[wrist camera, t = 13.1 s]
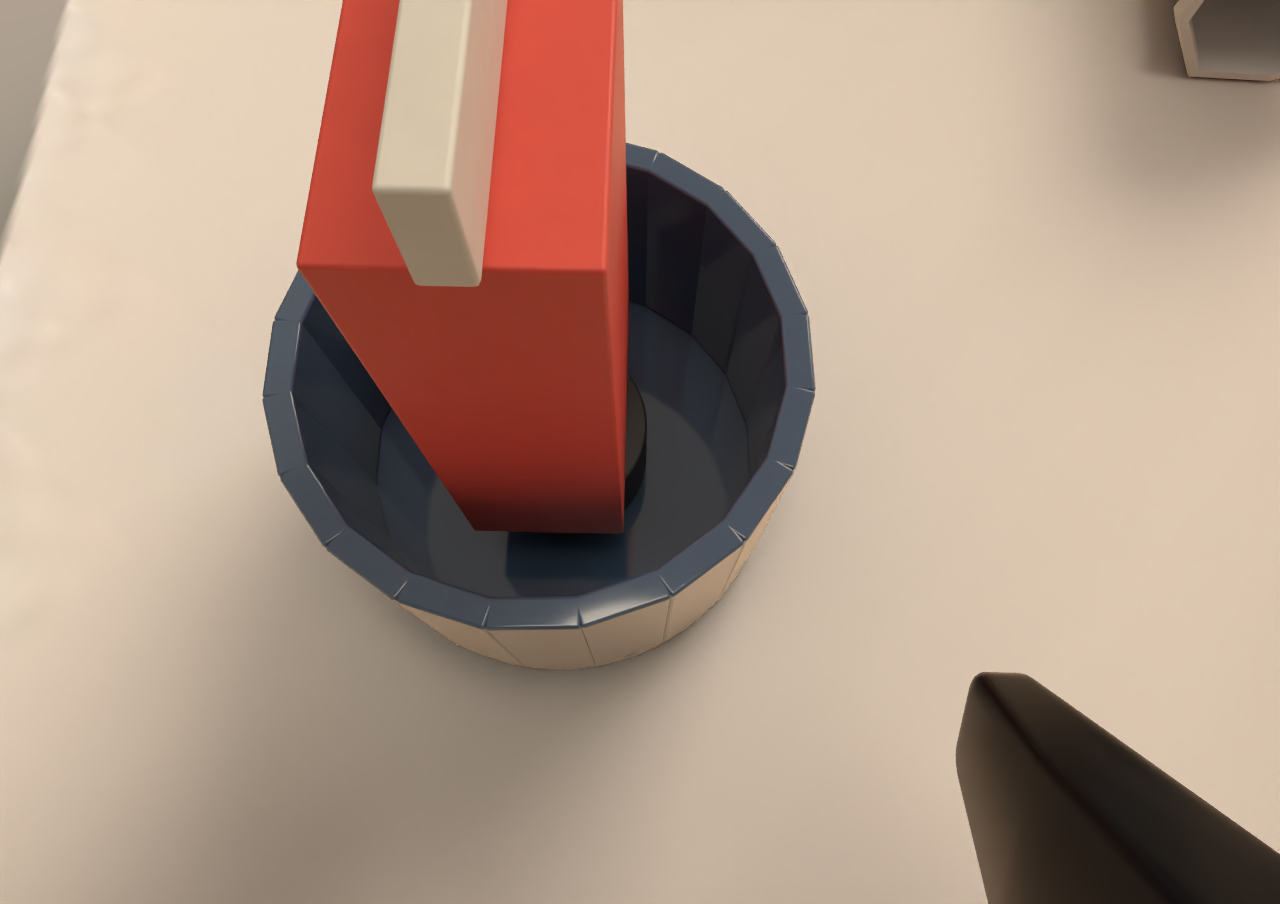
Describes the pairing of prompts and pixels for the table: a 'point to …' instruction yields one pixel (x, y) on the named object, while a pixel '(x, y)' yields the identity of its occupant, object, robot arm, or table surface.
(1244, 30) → the tube
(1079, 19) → the table surface
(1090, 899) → the robot arm
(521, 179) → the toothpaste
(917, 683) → the table surface
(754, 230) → the holder
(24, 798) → the table surface
